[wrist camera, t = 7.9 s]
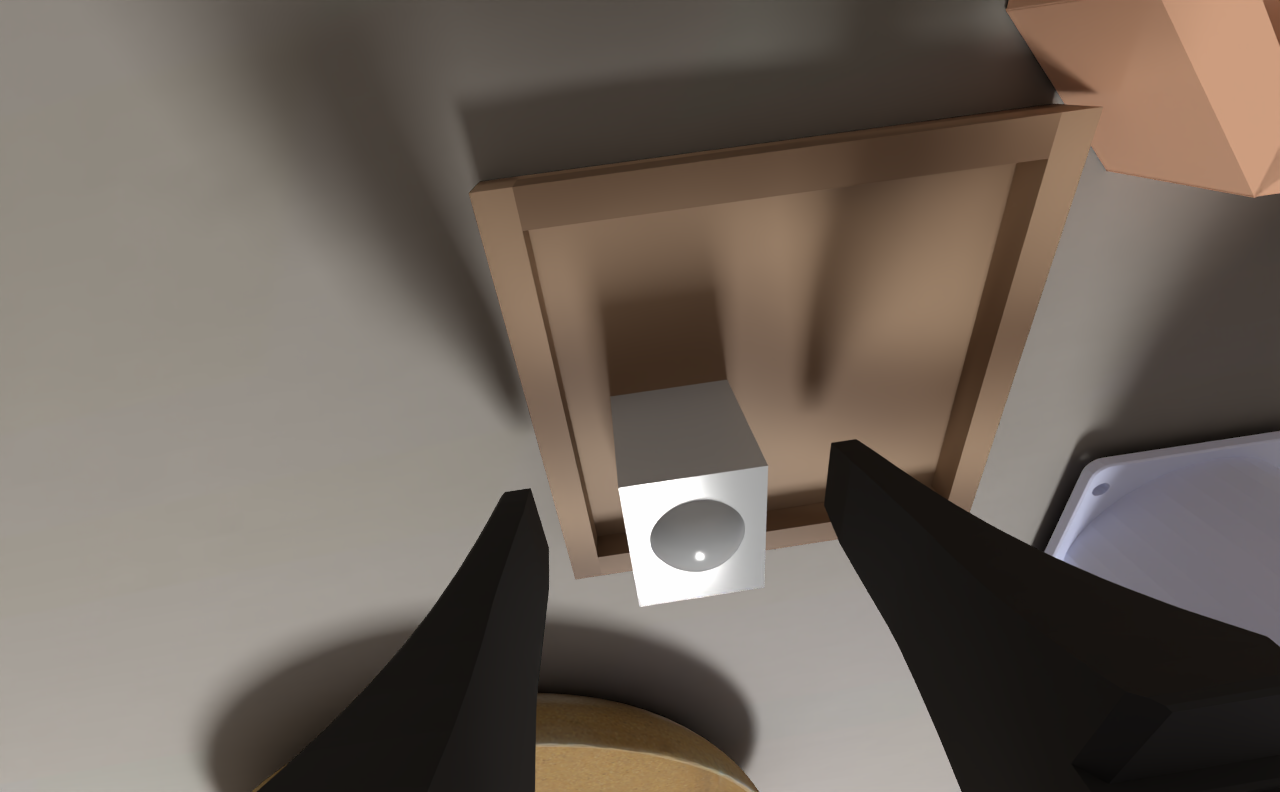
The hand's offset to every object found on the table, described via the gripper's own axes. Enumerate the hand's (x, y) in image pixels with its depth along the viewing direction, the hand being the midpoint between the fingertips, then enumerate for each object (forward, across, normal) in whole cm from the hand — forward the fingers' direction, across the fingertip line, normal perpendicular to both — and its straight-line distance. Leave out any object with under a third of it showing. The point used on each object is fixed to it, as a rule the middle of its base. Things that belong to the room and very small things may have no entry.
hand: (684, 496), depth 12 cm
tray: (+2, -3, -2) cm, 4 cm away
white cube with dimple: (+2, 0, 0) cm, 2 cm away
